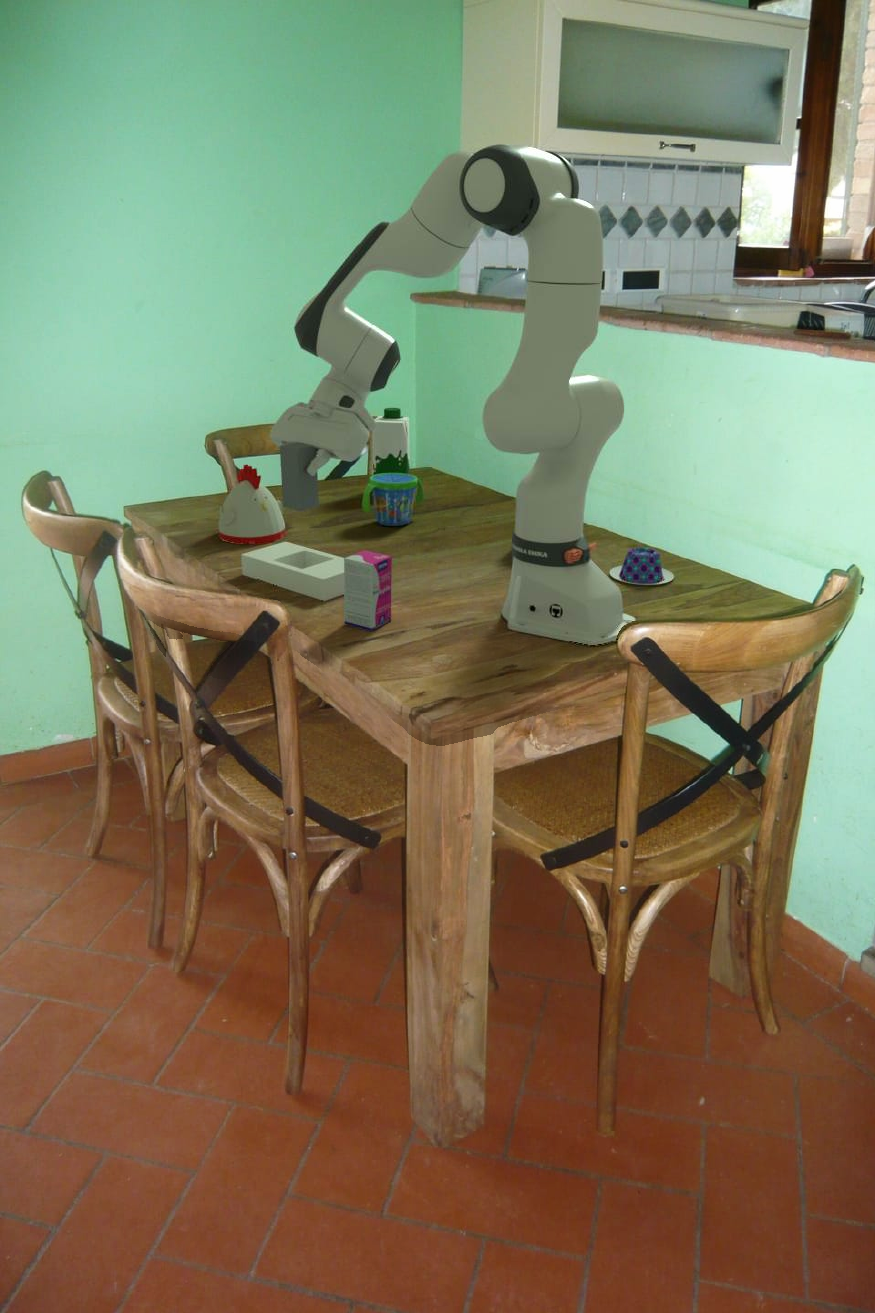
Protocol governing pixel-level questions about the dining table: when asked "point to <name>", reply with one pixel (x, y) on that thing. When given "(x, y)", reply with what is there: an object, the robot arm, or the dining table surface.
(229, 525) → the kitchen timer
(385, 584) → the supplement box
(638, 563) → the pudding
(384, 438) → the milk carton
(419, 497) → the snack cup
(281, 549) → the white socket block
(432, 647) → the dining table surface
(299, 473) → the charcoal peg
